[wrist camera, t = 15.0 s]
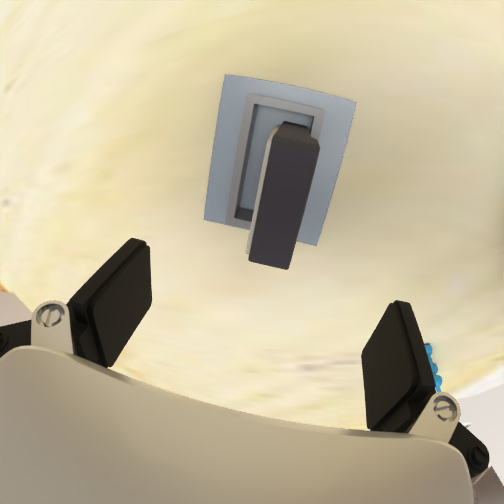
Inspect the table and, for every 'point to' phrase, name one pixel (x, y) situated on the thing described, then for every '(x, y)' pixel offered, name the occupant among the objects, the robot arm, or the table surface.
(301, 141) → the multicoloured piece
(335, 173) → the desk holder
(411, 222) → the table surface
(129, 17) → the table surface
